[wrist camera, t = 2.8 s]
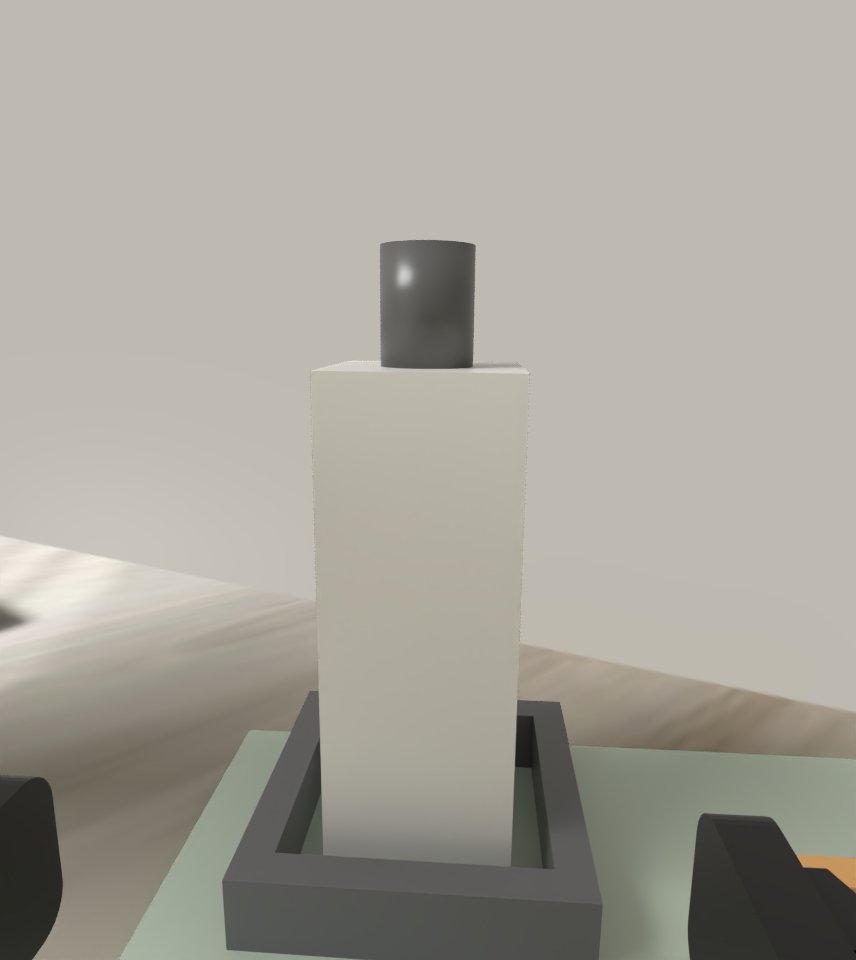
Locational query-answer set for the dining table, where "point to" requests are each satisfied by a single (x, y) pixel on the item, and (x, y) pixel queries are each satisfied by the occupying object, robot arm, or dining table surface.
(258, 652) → the dining table surface
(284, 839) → the panel
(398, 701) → the white square bottle
